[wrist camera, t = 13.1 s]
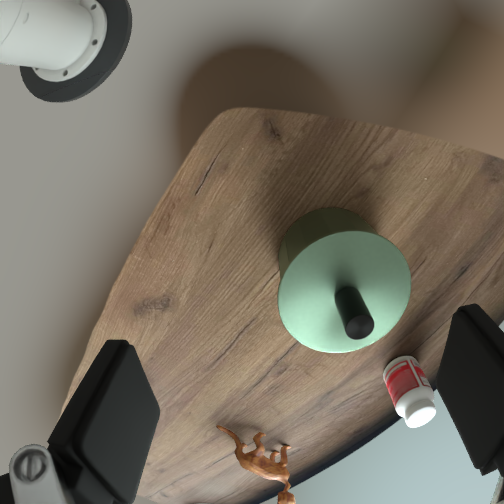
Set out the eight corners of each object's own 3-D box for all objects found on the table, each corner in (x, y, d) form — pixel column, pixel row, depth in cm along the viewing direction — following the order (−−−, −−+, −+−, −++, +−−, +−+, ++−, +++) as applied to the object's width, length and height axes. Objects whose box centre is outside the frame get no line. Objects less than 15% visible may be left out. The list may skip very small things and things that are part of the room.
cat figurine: (207, 427, 53) (196, 489, 40) (227, 412, 51) (219, 478, 38) (281, 459, 57) (281, 515, 44) (303, 446, 55) (307, 505, 42)
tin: (273, 212, 38) (276, 240, 29) (377, 203, 37) (408, 227, 28) (282, 305, 42) (286, 351, 34) (375, 295, 41) (398, 336, 33)
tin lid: (270, 234, 29) (272, 261, 24) (411, 221, 28) (441, 244, 23) (282, 352, 34) (284, 392, 29) (400, 336, 33) (418, 372, 28)
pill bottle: (377, 382, 48) (395, 432, 37) (389, 354, 45) (411, 405, 35) (409, 381, 48) (430, 428, 37) (422, 353, 45) (447, 400, 35)
